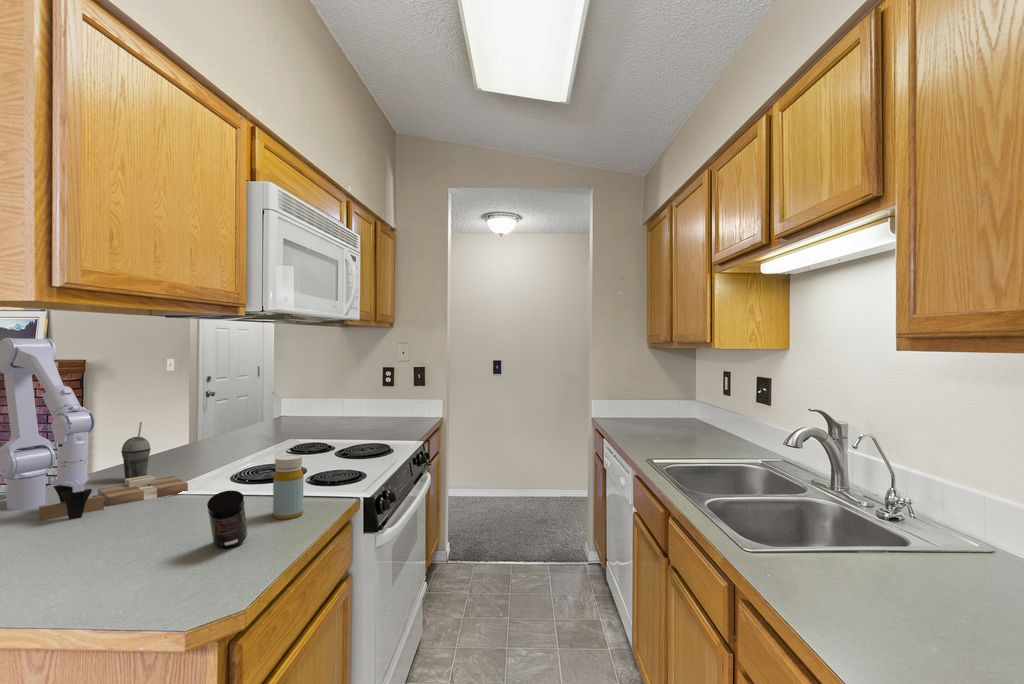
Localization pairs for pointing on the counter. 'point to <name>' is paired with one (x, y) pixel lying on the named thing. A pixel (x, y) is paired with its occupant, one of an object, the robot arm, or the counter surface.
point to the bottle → (288, 487)
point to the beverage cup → (136, 456)
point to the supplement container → (227, 519)
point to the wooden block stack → (142, 489)
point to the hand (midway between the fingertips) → (72, 516)
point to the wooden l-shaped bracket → (61, 508)
